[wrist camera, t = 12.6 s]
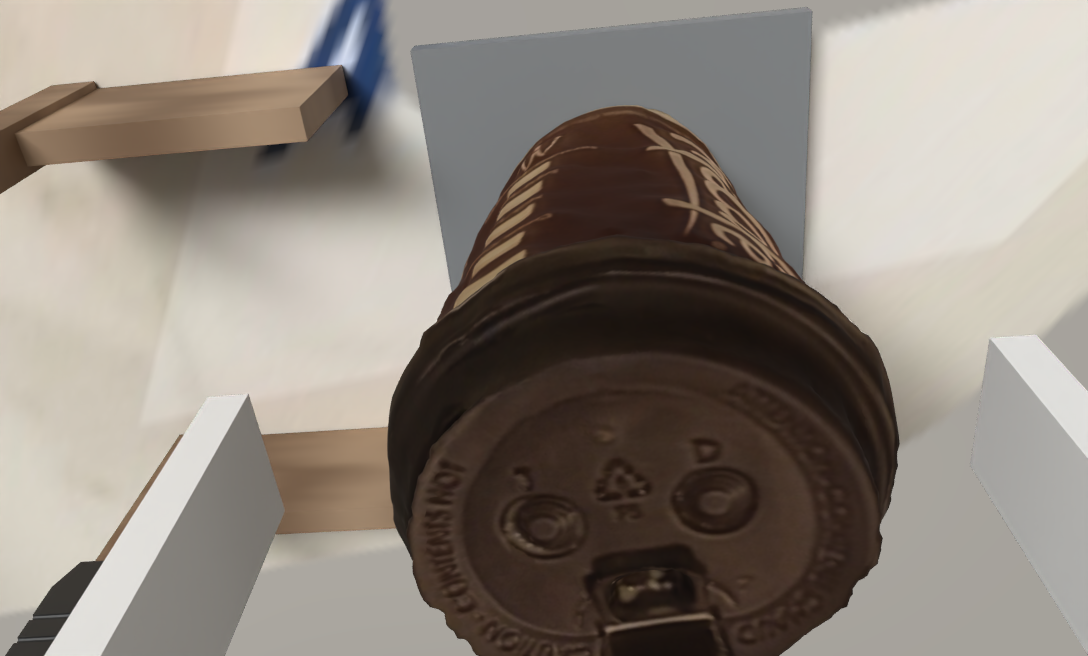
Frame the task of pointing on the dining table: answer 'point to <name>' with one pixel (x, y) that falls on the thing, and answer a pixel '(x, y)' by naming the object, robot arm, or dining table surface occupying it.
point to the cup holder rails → (197, 125)
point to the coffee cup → (637, 416)
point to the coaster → (615, 80)
